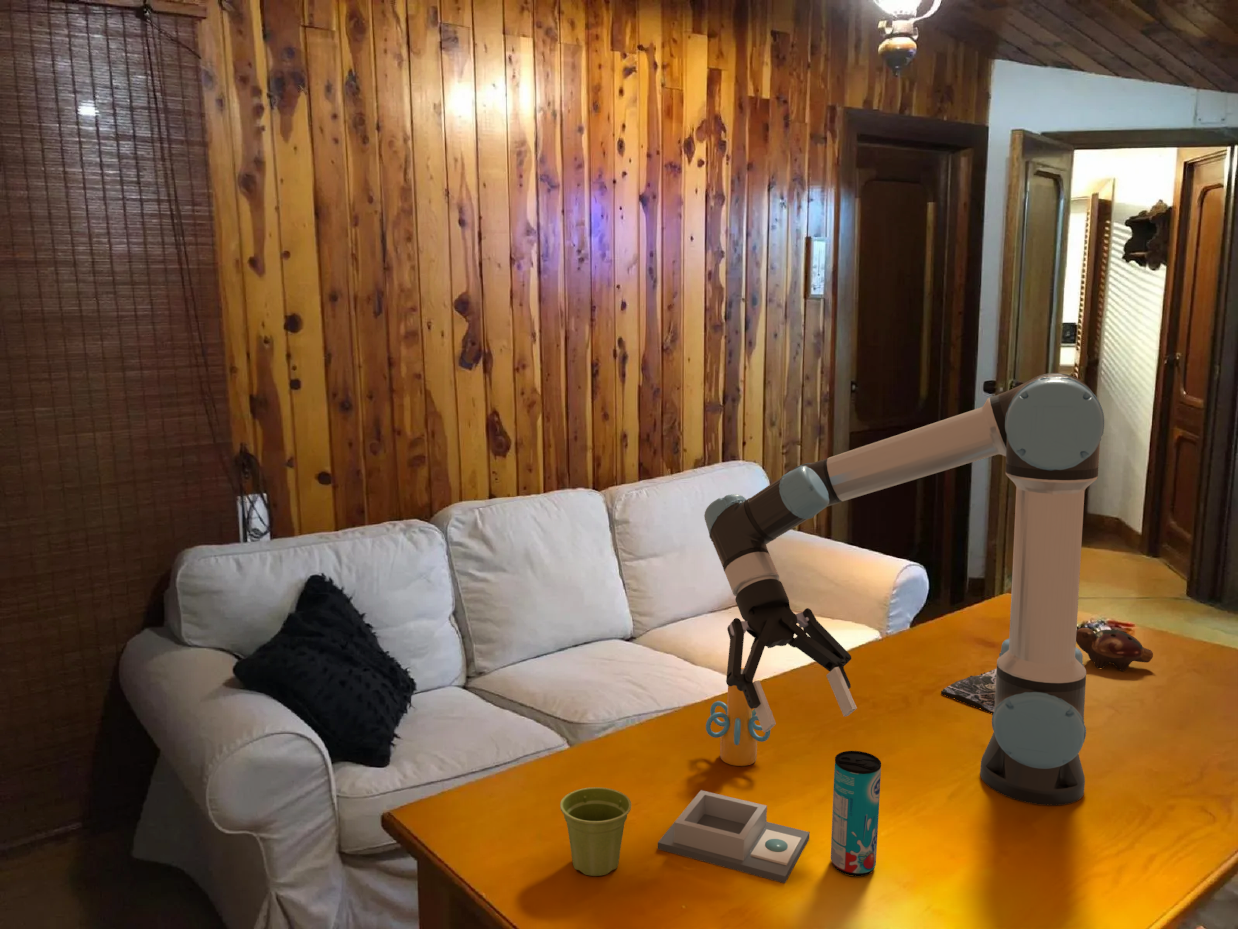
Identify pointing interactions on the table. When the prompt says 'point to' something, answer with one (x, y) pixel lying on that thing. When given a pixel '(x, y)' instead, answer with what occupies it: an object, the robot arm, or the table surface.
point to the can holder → (735, 837)
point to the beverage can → (855, 812)
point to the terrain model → (975, 691)
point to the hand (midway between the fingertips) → (811, 720)
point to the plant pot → (595, 828)
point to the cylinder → (736, 729)
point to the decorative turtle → (1112, 648)
